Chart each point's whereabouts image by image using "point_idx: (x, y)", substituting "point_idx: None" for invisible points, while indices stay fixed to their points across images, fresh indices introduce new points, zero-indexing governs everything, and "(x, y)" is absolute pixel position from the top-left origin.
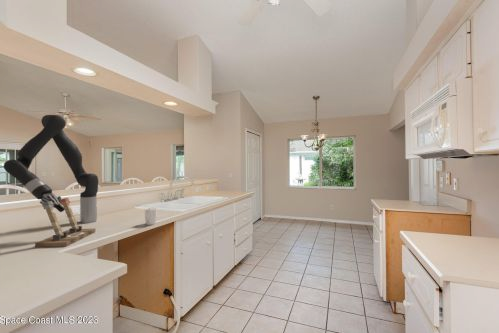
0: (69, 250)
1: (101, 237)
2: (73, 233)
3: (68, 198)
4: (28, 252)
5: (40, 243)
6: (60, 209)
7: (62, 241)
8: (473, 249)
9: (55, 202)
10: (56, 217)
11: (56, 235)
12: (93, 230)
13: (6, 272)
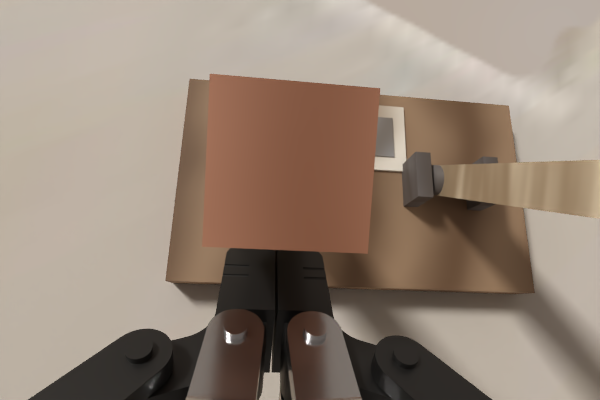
0: (548, 73)
1: (337, 11)
2: None
3: (218, 80)
4: (592, 265)
5: (527, 257)
6: (318, 260)
7: (496, 138)
8: None
9: (334, 380)
10: (542, 163)
11: None
12: None
13: None
